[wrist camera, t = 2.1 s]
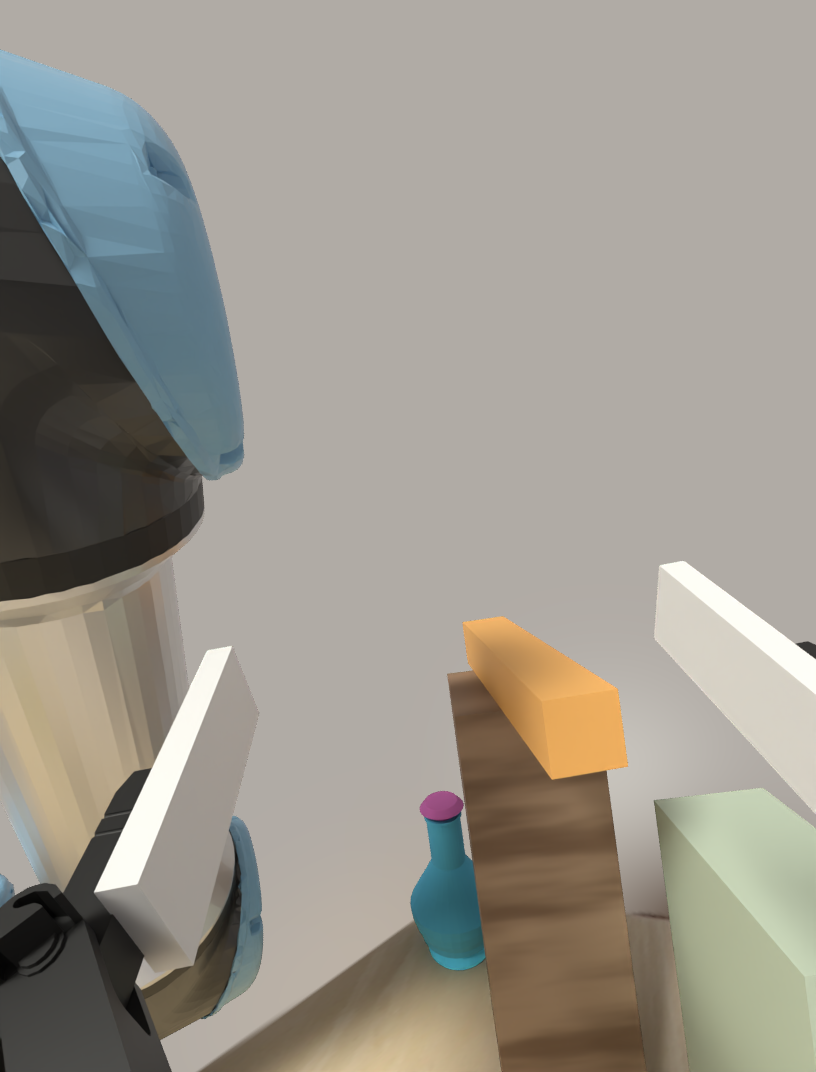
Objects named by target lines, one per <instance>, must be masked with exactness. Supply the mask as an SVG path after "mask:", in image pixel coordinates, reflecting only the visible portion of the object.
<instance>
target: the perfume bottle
mask: <svg viewBox="0 0 816 1072" xmlns="http://www.w3.org/2000/svg"><path fill="white" fill-rule="evenodd" d="M463 806H464V805H463V801H462V800H461V799H460V798H459V797H458V796H456V795H455V794H453V793H451V792H448V791H440V792H435V793H432V794H430V795H429V796H428V797H427V798H426V799H425V800H424V801H423V803H422V804H421V806H420V812H421V814H422V815H423V816H424V818H425V821H426V822H427V828H428V835H429V843H430V849H431V857H432V859H431V861H430V862H429V864H428V866H427V868H426V869H425V871H424V873H423V874H422V876H421V877H420V879H419V881H418V883H417V884H416V886H415V888H414V890H413V892H412V896H411V909H412V914H413V918H414V921H415V923H416V925H417V927H418V929H419V931H420V933H421V934H422V935H423V938H424V940H425V942H426V944H427V945H428V947H429V950H430V953H431V955H432V957H433V958H434V960H435V961H436V962H437V963H439V964H440V965H441V966H443V967H445V968H448V969H451V970H466V969H470V968H472V967H474V966H477V965H478V964H479V963H481V962H482V961H483V960H484V959H485V958H486V957H485V950H484V942H483V935H482V927H481V920H480V913H479V905H478V898H477V890H476V883H475V876H474V868H473V861H472V860H471V859H470V858H469V857H468V856H467V855H465V850H464V843H463V836H462V828H461V821H460V817H461V810H462V809H463Z"/></svg>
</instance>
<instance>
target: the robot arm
mask: <svg viewBox="0 0 816 1072" xmlns="http://www.w3.org/2000/svg"><path fill="white" fill-rule="evenodd" d="M240 398H241V397H240V390H239V383H238V377H237V371H236V366H235V360H234V353H233V349H232V343H231V338H230V332H229V327H228V321H227V317H226V312H225V307H224V302H223V298H222V294H221V289H220V285H219V281H218V277H217V272H216V268H215V263H214V259H213V256H212V251H211V248H210V244H209V240H208V236H207V233H206V229H205V226H204V222H203V218H202V215H201V212H200V208H199V205H198V202H197V199H196V196H195V193H194V190H193V187H192V185H191V182H190V179H189V177H188V174H187V171H186V169H185V166H184V164H183V162H182V160H181V158H180V156H179V154H178V152H177V150H176V149H175V147H174V145H173V143H172V141H171V140H170V139H169V137H168V135H167V134H166V133H165V132H164V130H163V129H162V128H161V126H160V125H159V124H158V123H157V122H156V121H155V119H154V118H153V117H152V116H151V115H150V114H149V113H147V111H146V110H144V109H143V108H142V107H141V106H140V105H139V104H137V103H136V102H135V101H133V100H132V99H130V98H129V97H127V96H126V95H124V94H122V93H120V92H118V91H116V90H114V89H111V88H109V87H107V86H104V85H101V84H98V83H95V82H92V81H89V80H87V79H84V78H81V77H78V76H75V75H72V74H69V73H66V72H63V71H61V70H58V69H54V68H52V67H49V66H46V65H43V64H40V63H37V62H35V61H31V60H28V59H26V58H23V57H20V56H17V55H14V54H12V53H9V52H5V51H3V50H0V802H1V804H2V806H3V808H4V810H5V812H6V814H7V816H8V818H9V820H10V823H11V825H12V827H13V829H14V831H15V833H16V835H17V837H18V839H19V841H20V843H21V845H22V847H23V849H24V851H25V853H26V855H27V857H28V860H29V862H30V864H31V866H32V868H33V870H34V872H35V874H36V876H37V878H38V880H39V882H40V884H39V885H35V886H32V887H29V888H27V889H25V890H24V891H22V892H20V893H19V894H17V895H15V893H14V887H13V884H11V883H10V882H9V881H8V879H7V878H6V877H5V876H3V875H1V874H0V1072H172V1071H171V1069H170V1066H169V1063H168V1061H167V1058H166V1055H165V1053H164V1050H163V1048H162V1045H161V1042H160V1040H161V1039H163V1038H165V1037H167V1036H169V1035H171V1034H172V1033H174V1032H176V1031H178V1030H180V1029H182V1028H184V1027H185V1026H187V1025H189V1024H191V1023H193V1022H195V1021H196V1020H198V1019H200V1018H201V1019H206V1018H207V1017H209V1016H212V1015H214V1014H216V1013H217V1012H218V1011H219V1010H220V1009H221V1008H222V1007H223V1006H224V1005H225V1004H226V1003H228V1002H229V1001H231V1000H233V999H234V998H236V997H238V996H239V995H241V994H242V993H244V992H245V991H246V990H247V989H248V988H249V987H250V986H251V984H252V983H253V981H254V980H255V978H256V975H257V973H258V970H259V967H260V964H261V958H262V949H263V924H262V919H261V916H260V914H261V911H262V902H261V890H260V882H259V875H258V868H257V863H256V858H255V853H254V849H253V845H252V841H251V837H250V835H249V831H248V829H247V827H246V825H245V823H244V822H243V821H242V820H240V819H239V818H238V817H236V816H233V812H234V808H235V804H236V800H237V797H238V793H239V789H240V785H241V781H242V778H243V773H244V770H245V766H246V762H247V758H248V754H249V750H250V747H251V743H252V739H253V735H254V732H255V728H256V724H257V720H258V716H259V712H258V709H257V706H256V704H255V701H254V699H253V696H252V695H251V691H250V689H249V686H248V684H247V681H246V679H245V676H244V674H243V671H242V669H241V666H240V664H239V661H238V659H237V656H236V654H235V651H234V649H233V646H229V647H224V648H218V649H213V650H208V651H207V652H206V654H205V656H204V658H203V661H202V663H201V665H200V667H199V669H198V671H197V673H196V676H195V678H194V680H193V682H192V684H191V686H190V688H189V685H188V677H187V670H186V662H185V654H184V647H183V639H182V632H181V624H180V616H179V609H178V601H177V595H176V586H175V579H174V571H173V563H172V555H174V554H175V553H176V552H177V551H178V550H180V549H181V548H182V547H183V546H184V545H185V544H186V543H188V542H189V541H190V540H191V538H192V537H193V536H194V535H195V534H196V532H197V531H198V529H199V527H200V525H201V524H202V521H203V517H204V497H203V485H202V476H204V477H205V478H206V479H207V480H218V479H220V478H221V477H222V475H225V474H228V473H232V472H234V471H235V470H237V469H238V468H239V467H240V466H241V464H242V462H243V458H244V450H243V438H244V425H243V424H244V422H243V413H242V405H241V399H240ZM654 639H655V640H656V641H657V642H658V643H659V644H660V645H661V646H662V647H663V649H664V650H665V651H666V652H667V653H668V654H669V655H670V656H671V657H672V658H673V659H674V661H675V662H676V663H677V664H678V665H679V666H680V667H681V668H682V669H683V670H684V671H685V672H686V674H687V675H688V676H689V677H690V678H691V679H692V680H693V681H694V682H695V683H696V685H697V686H698V687H699V688H700V689H701V690H702V691H703V692H704V693H705V694H706V695H707V697H708V698H709V699H710V700H711V701H712V702H713V703H714V704H715V705H716V706H717V707H718V708H719V710H720V711H721V712H722V713H723V714H724V715H725V716H726V717H727V718H728V719H729V720H730V722H731V723H732V724H733V725H734V726H735V727H736V728H737V729H738V730H739V731H740V732H741V734H742V735H743V736H745V738H746V739H747V740H748V741H749V742H750V743H751V744H752V745H753V746H754V748H755V749H756V750H757V751H758V752H759V753H760V754H761V755H762V756H763V757H764V759H765V760H766V761H767V762H768V763H769V764H770V765H771V766H772V767H773V768H774V769H775V771H776V772H777V773H778V774H779V775H780V776H781V777H782V778H783V779H784V780H785V781H786V782H787V784H789V786H790V787H791V788H792V789H793V790H794V791H795V792H796V793H797V794H798V796H799V797H800V798H801V799H802V800H803V801H804V802H805V803H806V804H807V805H808V806H809V807H810V809H811V810H812V811H813V812H814V813H815V814H816V645H815V644H812V643H810V642H803V643H797V644H794V643H793V642H792V641H790V640H789V639H788V638H786V637H785V636H784V635H782V634H781V633H779V632H778V631H777V630H776V629H774V628H773V627H772V626H770V625H769V624H768V623H766V622H765V621H764V620H762V619H761V618H760V617H758V616H757V615H756V614H754V613H753V612H752V611H750V610H749V609H748V608H746V607H745V606H744V605H742V604H741V603H740V602H738V601H737V600H735V599H734V598H733V597H731V596H730V595H729V594H728V593H726V592H725V591H723V590H722V589H721V588H719V587H718V586H717V585H715V584H714V583H713V582H711V581H710V580H709V579H707V578H706V577H705V576H703V575H702V574H701V573H699V572H698V571H697V570H695V569H694V568H693V567H691V566H690V565H689V564H687V563H686V562H685V561H681V562H675V563H671V564H665V565H659V576H658V591H657V604H656V618H655V632H654ZM14 895H15V896H14Z"/></svg>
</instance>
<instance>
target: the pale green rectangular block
mask: <svg viewBox="0 0 816 1072" xmlns="http://www.w3.org/2000/svg"><path fill="white" fill-rule="evenodd" d="M654 805H655V812H656V819H657V827H658V835H659V843H660V850H661V858H662V865H663V873H664V881H665V887H666V896H667V903H668V911H669V918H670V926H671V934H672V941H673V949H674V956H675V964H676V972H677V979H678V987H679V994H680V1002H681V1009H682V1017H683V1025H684V1032H685V1040H686V1047H687V1055H688V1063H689V1070H690V1072H816V828H815V827H813V826H812V825H811V824H809V823H808V822H807V821H806V820H804V819H803V818H802V817H800V816H799V815H798V814H796V813H795V812H794V811H792V810H791V809H790V808H788V807H787V806H786V805H784V804H783V803H782V802H781V801H779V800H778V799H777V798H775V797H774V796H773V795H771V794H770V793H768V792H767V791H766V790H765V789H763V788H757V789H749V790H740V791H731V792H722V793H714V794H705V795H696V796H688V797H679V798H670V799H661V800H654Z"/></svg>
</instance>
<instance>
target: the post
mask: <svg viewBox="0 0 816 1072" xmlns="http://www.w3.org/2000/svg"><path fill="white" fill-rule="evenodd" d="M447 676H448V682H449V690H450V698H451V705H452V712H453V720H454V727H455V735H456V741H457V750H458V757H459V764H460V771H461V779H462V787H463V793H464V802H465V809H466V816H467V823H468V831H469V839H470V846H471V853H472V861H473V868H474V876H475V883H476V890H477V898H478V905H479V913H480V920H481V927H482V935H483V942H484V950H485V957H486V964H487V972H488V979H489V987H490V994H491V1001H492V1008H493V1015H494V1022H495V1029H496V1036H497V1042H498V1049H499V1056H500V1063H501V1070H502V1072H646V1066H645V1058H644V1051H643V1043H642V1035H641V1028H640V1020H639V1013H638V1005H637V998H636V990H635V983H634V975H633V968H632V960H631V952H630V945H629V937H628V930H627V922H626V915H625V907H624V900H623V892H622V885H621V877H620V870H619V862H618V854H617V847H616V839H615V832H614V824H613V817H612V810H611V802H610V794H609V787H608V779H607V771H606V770H605V771H600V772H594V773H588V774H582V775H577V776H571V777H565V778H559V779H554V780H552V779H551V778H550V776H549V775H548V774H547V772H546V771H545V769H544V768H543V767H542V765H541V764H540V762H539V761H538V760H537V758H536V757H535V756H534V754H533V753H532V751H531V750H530V749H529V747H528V746H527V744H526V743H525V742H524V740H523V739H522V737H521V736H520V735H519V733H518V732H517V731H516V729H515V728H514V726H513V725H512V724H511V722H510V721H509V719H508V718H507V717H506V715H505V714H504V712H503V711H502V710H501V708H500V707H499V706H498V704H497V703H496V701H495V700H494V699H493V697H492V696H491V694H490V693H489V692H488V690H487V689H486V687H485V686H484V685H483V683H482V682H481V681H480V679H479V678H478V676H477V675H476V674H475V672H474V671H466V672H458V673H450V674H447Z"/></svg>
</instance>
